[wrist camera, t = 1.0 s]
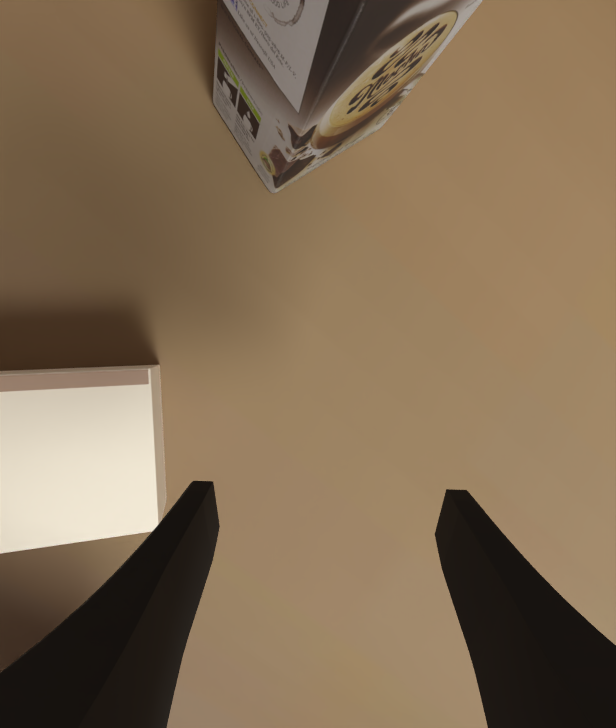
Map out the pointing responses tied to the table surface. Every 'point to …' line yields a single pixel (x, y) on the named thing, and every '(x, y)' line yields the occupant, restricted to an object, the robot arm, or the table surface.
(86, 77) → the table surface
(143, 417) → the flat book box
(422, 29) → the coffee box
